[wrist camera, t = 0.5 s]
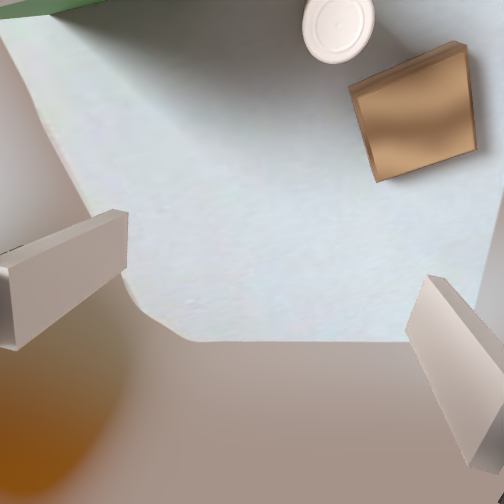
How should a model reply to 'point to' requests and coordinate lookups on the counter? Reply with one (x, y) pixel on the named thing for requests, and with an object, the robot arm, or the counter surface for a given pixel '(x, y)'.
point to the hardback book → (39, 7)
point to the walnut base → (417, 112)
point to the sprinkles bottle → (337, 28)
